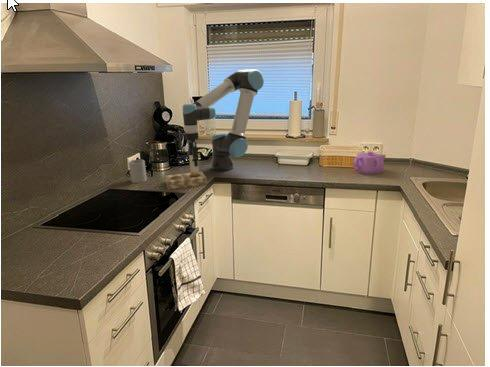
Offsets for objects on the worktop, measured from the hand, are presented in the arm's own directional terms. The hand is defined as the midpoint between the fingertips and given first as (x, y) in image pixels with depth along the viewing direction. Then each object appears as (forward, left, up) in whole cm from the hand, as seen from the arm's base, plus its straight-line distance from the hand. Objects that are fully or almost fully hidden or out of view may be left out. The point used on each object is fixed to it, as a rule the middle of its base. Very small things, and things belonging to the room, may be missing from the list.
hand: (194, 168), depth 203 cm
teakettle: (-105, +21, -8) cm, 107 cm away
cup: (+32, -17, -8) cm, 37 cm away
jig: (+6, 0, -8) cm, 10 cm away
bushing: (0, 0, -8) cm, 8 cm away
